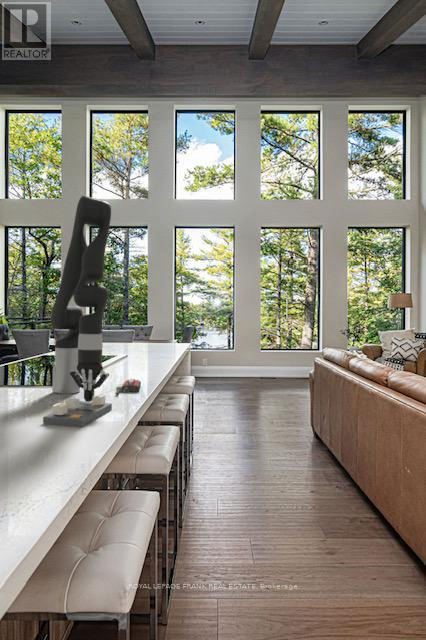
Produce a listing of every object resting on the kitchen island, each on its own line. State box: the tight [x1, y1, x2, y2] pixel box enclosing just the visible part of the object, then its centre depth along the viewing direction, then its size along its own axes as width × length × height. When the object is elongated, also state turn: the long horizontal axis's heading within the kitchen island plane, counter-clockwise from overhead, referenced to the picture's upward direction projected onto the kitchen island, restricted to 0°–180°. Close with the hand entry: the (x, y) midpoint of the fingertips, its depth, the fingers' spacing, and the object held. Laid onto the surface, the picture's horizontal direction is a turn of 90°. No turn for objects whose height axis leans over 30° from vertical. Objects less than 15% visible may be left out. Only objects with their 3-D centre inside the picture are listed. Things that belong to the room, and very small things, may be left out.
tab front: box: [51, 402, 68, 415], centre depth 122 cm, size 3×3×3 cm
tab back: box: [91, 393, 106, 405], centre depth 135 cm, size 3×3×3 cm
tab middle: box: [64, 396, 80, 409], centre depth 129 cm, size 3×3×3 cm
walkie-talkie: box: [115, 378, 142, 396], centre depth 167 cm, size 9×4×20 cm
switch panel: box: [42, 400, 113, 428], centre depth 129 cm, size 12×20×2 cm, turn 170°
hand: (88, 401), depth 136 cm, fingers closed
